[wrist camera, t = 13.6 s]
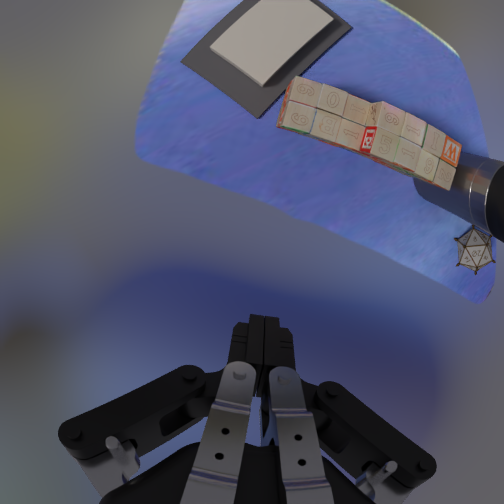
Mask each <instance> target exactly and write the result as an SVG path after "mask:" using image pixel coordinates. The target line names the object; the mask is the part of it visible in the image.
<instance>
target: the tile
mask: <svg viewBox="0 0 504 504" xmlns="http://www.w3.org/2000/svg"><path fill="white" fill-rule="evenodd" d="M333 19H334V18H332V17H331V16H330V15H329V14H327V13H326V12H325V11H323V10H322V9H321V8H319V7H318V6H317V5H315V4H314V3H312V2H311V1H310V0H260V1H259V2H258V3H257V4H255V5H254V6H253V7H252V8H251V9H250V10H248V11H247V12H246V13H245V14H244V15H243V16H241V17H240V18H239V19H238V20H237V21H236V22H235V23H234V24H233V25H231V26H230V27H229V28H228V29H227V30H226V31H225V32H224V33H223V34H222V35H221V36H220V37H219V38H218V39H217V40H216V41H215V42H214V43H213V44H212V45H211V46H210V49H211V51H213V52H214V53H216V54H217V55H219V56H220V57H222V58H223V59H225V60H226V61H228V62H229V63H230V64H232V65H233V66H235V67H236V68H237V69H239V70H240V71H241V72H243V73H244V74H246V75H247V76H248V77H250V78H251V79H252V80H253V81H255V82H256V83H257V84H259V85H260V86H261V87H263V86H264V85H265V84H266V83H267V82H268V81H269V80H270V79H271V78H272V77H273V76H274V75H275V74H276V73H277V72H278V71H279V70H280V69H281V68H282V67H283V66H284V65H285V64H286V63H287V62H288V61H289V60H290V59H291V58H292V57H293V56H294V55H295V54H296V53H297V52H298V51H300V50H301V49H302V48H303V47H304V46H305V45H306V44H307V43H308V42H309V41H311V40H312V39H313V38H314V37H315V36H316V35H317V34H318V33H320V32H321V31H322V30H323V29H324V28H325V27H327V26H328V25H329V24H330V23H331V22H332V21H333Z"/></svg>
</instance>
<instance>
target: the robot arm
mask: <svg viewBox="0 0 504 504" xmlns="http://www.w3.org/2000/svg"><path fill="white" fill-rule="evenodd" d="M414 184H415V187H416V189H417V191H418V193H419V194H420V195H421V196H422V197H423V198H424V199H425V200H427V201H429V202H431V203H433V204H435V205H437V206H439V207H441V208H443V209H445V210H447V211H449V212H451V213H453V214H455V215H457V216H458V217H460V218H462V219H464V220H466V221H468V222H470V223H471V224H473V225H475V226H477V227H478V228H480V229H482V230H484V231H486V232H487V233H489V234H491V235H492V236H494V237H495V238H497V239H499V240H500V241H502V242H504V162H502V161H498V160H494V159H490V158H486V157H482V156H477V155H473V154H468V153H463V152H460V157H459V160H458V164H457V167H456V172H455V175H454V178H453V181H452V184H451V188H450V190H449V191H448V190H445V189H443V188H440V187H438V186H435V185H432V184H429V183H427V182H424V181H422V180H420V179H417V178H414ZM256 390H257V391H256ZM256 392H257V393H256ZM255 394H256V397H261V406H260V410H259V416H260V436H261V446H260V447H257V446H253V445H251V444H248V443H245V439H246V433H247V427H248V422H249V417H250V408H251V402H252V397H255ZM207 416H208V419H207V422H206V425H205V429H204V432H203V435H202V439H201V442H196V443H193V444H189V445H186V446H184V447H182V448H181V449H179V450H177V451H176V452H175V453H173V454H172V455H170V456H169V457H167V458H166V459H164V460H162V461H161V462H159V463H158V464H156V465H155V466H153V467H151V468H150V469H148V470H147V471H145V472H143V473H142V474H140V475H138V476H137V477H135V478H133V479H132V480H130V481H129V479H130V477H131V476H132V475H133V474H135V473H136V472H137V471H138V469H139V468H140V459H139V457H141V456H143V455H145V454H146V453H148V452H150V451H152V450H154V449H155V448H157V447H159V446H160V445H162V444H164V443H165V442H167V441H169V440H171V439H172V438H174V437H175V436H177V435H179V434H180V433H182V432H183V431H185V430H187V429H188V428H190V427H191V426H193V425H194V424H196V423H198V422H199V421H201V420H202V419H203V417H207ZM58 437H59V440H60V441H61V443H62V444H63V445H64V447H65V448H66V449H67V451H68V453H69V454H70V455H71V456H72V457H73V459H74V460H75V461H76V462H77V463H78V464H79V465H80V466H81V467H82V469H83V471H84V472H85V474H86V475H87V477H88V478H89V480H90V481H91V482H92V484H93V486H94V487H95V489H96V490H97V491H98V493H99V494H100V496H101V497H102V499H101V501H100V503H99V504H402V503H403V502H404V500H405V499H406V498H407V497H408V495H409V494H410V493H411V492H412V490H413V489H415V488H417V487H418V486H419V485H421V484H422V483H424V482H425V481H427V480H428V479H429V478H431V477H432V476H433V475H434V473H435V472H436V468H437V465H436V461H435V459H434V458H433V457H432V456H431V455H430V454H429V453H427V452H426V451H425V450H423V449H422V448H420V447H419V446H418V445H416V444H415V443H414V442H412V441H411V440H410V439H408V438H407V437H406V436H404V435H403V434H402V433H400V432H399V431H398V430H397V429H395V428H394V427H393V426H391V425H390V424H389V423H388V422H386V421H385V420H384V419H383V418H381V417H380V416H379V415H377V414H376V413H375V412H373V411H372V410H371V409H370V408H369V407H367V406H366V405H365V404H364V403H362V402H361V401H360V400H359V399H357V398H356V397H355V396H354V395H353V394H351V393H350V392H349V391H348V390H346V389H345V388H344V387H343V386H342V385H340V384H338V383H336V382H332V381H327V382H323V383H321V384H320V385H319V386H316V385H313V384H310V383H307V382H305V381H303V380H302V379H301V378H300V376H299V374H298V373H297V372H296V368H295V358H294V346H293V336H292V334H291V332H290V331H289V329H288V328H281V327H280V325H279V318H277V317H270V316H265V317H264V316H261V315H254V314H250V318H249V323H241V322H238V323H237V324H236V326H235V327H234V328H233V334H232V339H231V345H230V351H229V356H228V362H227V365H226V366H225V367H224V368H223V369H222V370H220V371H217V372H213V373H205V372H204V371H203V370H202V369H201V368H199V367H197V366H194V365H184V366H181V367H178V368H177V369H175V370H173V371H171V372H169V373H167V374H165V375H163V376H161V377H159V378H157V379H155V380H153V381H151V382H150V383H147V384H146V385H143V386H141V387H139V388H137V389H135V390H133V391H131V392H129V393H127V394H125V395H123V396H121V397H119V398H117V399H114V400H112V401H110V402H108V403H106V404H103V405H101V406H99V407H97V408H94V409H92V410H90V411H88V412H85V413H83V414H81V415H79V416H76V417H74V418H71V419H69V420H67V421H65V422H64V423H62V424H61V426H60V427H59V430H58ZM320 448H321V449H322V450H323V451H325V452H326V453H327V454H328V455H329V456H330V457H331V458H332V459H333V460H334V461H335V462H336V463H338V464H339V465H340V466H341V467H342V468H343V469H344V470H346V471H347V472H348V473H349V474H350V475H351V476H353V477H354V478H355V479H356V483H355V485H354V484H353V483H352V482H351V481H350V480H349V479H348V478H347V477H346V476H345V475H344V474H343V473H342V472H341V471H339V470H338V469H337V468H336V467H335V466H334V465H333V464H332V463H331V462H330V461H329V460H327V459H326V458H325V457H323V456H322V455H321V452H320Z"/></svg>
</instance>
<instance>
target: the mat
mask: <svg viewBox="0 0 504 504" xmlns="http://www.w3.org/2000/svg"><path fill="white" fill-rule="evenodd" d="M259 1H260V0H243V1H242V2H241V3H240V4H239V5H238V6H236V7H235V8H234V9H233V10H232V11H231V12H229V13H228V14H227V15H226V16H225V17H224V18H223V19H222V20H221V21H220V22H218V23H217V24H216V25H215V26H214V27H213V28H212V29H211V30H210V31H209V32H208V33H207V34H206V35H205V36H204V37H203V38H202V39H201V40H200V41H199V42H198V43H197V44H196V45H195V46H194V47H193V48H192V49H191V51H190V52H189V53H188V54H187V55H186V56H185V57H184V58H183V59H182V60H181V61H180V62H181V63H183V64H184V65H186V66H187V67H189V68H190V69H192V70H193V71H194V72H196V73H197V74H199V75H200V76H202V77H203V78H204V79H206V80H207V81H209V82H210V83H211V84H213V85H214V86H216V87H217V88H218V89H220V90H221V91H222V92H224V93H225V94H226V95H228V96H229V97H230V98H232V99H233V100H234V101H235V102H237V103H238V104H239V105H241V106H242V107H243V108H244V109H246V110H247V111H248V112H249V113H251V114H252V115H253V116H254V117H256V118H257V119H258V117H259V116H260V115H261V114H262V113H263V112H264V111H265V110H266V109H267V108H268V107H269V106H270V105H271V104H272V102H273V101H274V100H275V99H276V98H277V97H278V96H279V95H280V94H281V93H282V92H283V91H284V90H285V89H286V88H287V87H288V85H289V83H290V82H291V81H292V80H293V79H294V78H295V76H299V75H300V74H301V73H302V72H303V71H304V70H305V69H306V68H307V67H308V66H309V65H310V64H312V63H313V62H314V61H315V60H316V59H317V58H318V57H319V56H320V55H321V54H322V53H323V52H324V51H325V50H327V49H328V48H329V47H330V46H331V45H332V44H333V43H334V42H335V41H337V40H338V39H339V38H340V37H341V36H342V35H343V34H345V33H346V32H347V31H348V30H349V29H350V28H351V26H350V25H349V24H347V23H346V22H345V21H344V20H343V19H341V18H340V17H339V16H338V15H336V14H335V13H334V12H333V11H331V10H330V9H329V8H327V7H326V6H325V5H323V4H322V3H321V2H319V1H318V0H310V1H311V2H312V3H314V4H315V5H317V6H318V7H319V8H321V9H322V10H323V11H325V12H326V13H327V14H329V15H330V16H331V17H332V18H334V19H333V21H332V22H331V23H330V24H329V25H328V26H327V27H325V28H324V29H323V30H322V31H321V32H320V33H318V34H317V35H316V36H315V37H314V38H313V39H312V40H311V41H309V42H308V43H307V44H306V45H305V46H304V47H303V48H302V49H301V50H300V51H298V52H297V53H296V54H295V55H294V56H293V57H292V58H291V59H290V60H289V61H288V62H287V63H286V64H285V65H284V66H283V67H282V68H281V69H280V70H279V71H278V72H277V73H276V74H275V75H274V76H273V77H272V78H271V79H270V80H269V81H268V82H267V83H266V84H265V85H264V86H263V87H261V86H260V85H259V84H257V83H256V82H255V81H253V80H252V79H251V78H250V77H248V76H247V75H246V74H244V73H243V72H241V71H240V70H239V69H237V68H236V67H235V66H233V65H232V64H230V63H229V62H228V61H226V60H225V59H223V58H222V57H220V56H219V55H217V54H216V53H214V52H213V51H211V49H210V46H211V45H212V44H213V43H214V42H215V41H216V40H217V39H218V38H219V37H220V36H221V35H222V34H223V33H224V32H225V31H226V30H227V29H228V28H229V27H230V26H231V25H233V24H234V23H235V22H236V21H237V20H238V19H239V18H240V17H241V16H243V15H244V14H245V13H246V12H247V11H248V10H250V9H251V8H252V7H253V6H254V5H255V4H257V3H258V2H259Z"/></svg>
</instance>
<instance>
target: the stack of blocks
mask: <svg viewBox="0 0 504 504" xmlns="http://www.w3.org/2000/svg"><path fill="white" fill-rule="evenodd" d="M276 127H278V128H282V129H285V130H289V131H292V132H296V133H298V134H300V135H303V136H307V137H310V138H313V139H316V140H319V141H322V142H325V143H327V144H330V145H333V146H336V147H340V148H343V149H346V150H348V151H351V152H353V153H356V154H359V155H361V156H364V157H366V158H369V159H371V160H373V161H375V162H377V163H380V164H382V165H384V166H387V167H389V168H391V169H393V170H395V171H397V172H399V173H402V174H404V175H407V176H410V177H412V178H413V177H414V178H417V179H420V180H422V181H424V182H427V183H429V184H432V185H435V186H438V187H440V188H443V189H445V190H448V191H449V190H450V188H451V184H452V181H453V178H454V175H455V172H456V167H457V164H458V160H459V157H460V152H461V148H462V145H461V144H460V143H458V142H456V141H455V140H453V139H452V138H450V137H449V136H447V135H446V134H445V133H443V132H442V131H440V130H438V129H436V128H435V127H433V126H431V125H429V124H427V123H426V122H425V121H423V120H421V119H419V118H418V117H416V116H414V115H412V114H410V113H407V112H405V111H403V110H401V109H399V108H397V107H395V106H393V105H391V104H388V103H386V102H384V101H381V102H375V103H370V102H368V101H366V100H363V99H361V98H359V97H356V96H354V95H351V94H349V93H348V92H346V91H343V90H341V89H338V88H335V87H333V86H330V85H327V84H324V83H323V84H321V83H318V82H315V81H312V80H309V79H306V78H303V77H300V76H295V78H294V79H293V80H292V81H291V82H290V83H289V85H288V87H287V88H286V92H285V95H284V99H283V103H282V106H281V109H280V113H279V116H278V120H277V124H276Z"/></svg>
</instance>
